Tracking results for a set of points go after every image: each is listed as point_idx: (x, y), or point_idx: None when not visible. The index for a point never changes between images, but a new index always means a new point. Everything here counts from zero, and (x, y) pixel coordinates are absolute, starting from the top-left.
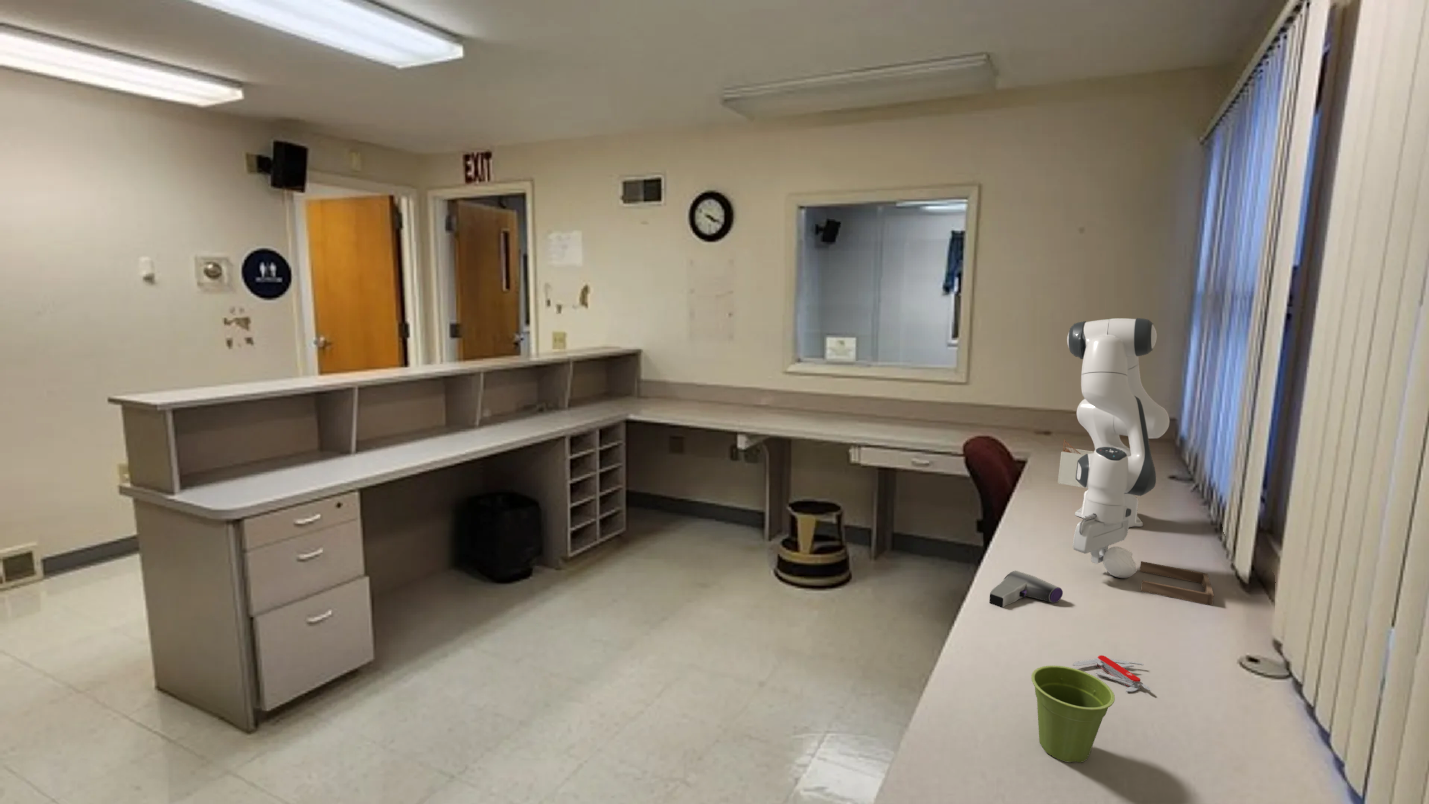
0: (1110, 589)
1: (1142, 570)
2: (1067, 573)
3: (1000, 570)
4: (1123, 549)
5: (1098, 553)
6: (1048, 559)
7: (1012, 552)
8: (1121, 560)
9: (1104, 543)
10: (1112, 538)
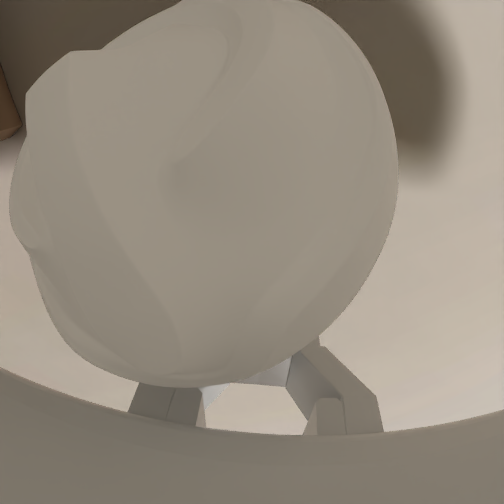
0: (490, 106)
1: (12, 115)
2: (419, 341)
3: None
4: (106, 225)
5: (349, 383)
6: (303, 427)
7: None
8: (385, 106)
9: (342, 493)
10: (77, 489)
